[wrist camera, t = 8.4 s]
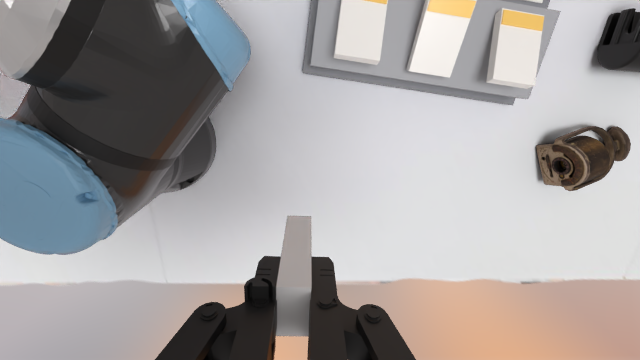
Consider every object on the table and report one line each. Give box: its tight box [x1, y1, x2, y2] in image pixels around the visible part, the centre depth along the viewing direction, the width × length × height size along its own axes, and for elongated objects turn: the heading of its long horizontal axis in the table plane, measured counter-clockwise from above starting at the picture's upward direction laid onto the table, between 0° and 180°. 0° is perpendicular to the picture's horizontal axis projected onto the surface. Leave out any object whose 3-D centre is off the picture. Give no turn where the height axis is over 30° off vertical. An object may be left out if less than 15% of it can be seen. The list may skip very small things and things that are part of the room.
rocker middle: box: [406, 0, 477, 78], centre depth 33 cm, size 5×8×1 cm, turn 172°
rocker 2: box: [486, 8, 544, 89], centre depth 34 cm, size 5×8×1 cm, turn 172°
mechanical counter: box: [536, 126, 631, 191], centre depth 42 cm, size 7×13×10 cm
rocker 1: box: [334, 0, 388, 65], centre depth 33 cm, size 5×8×1 cm, turn 172°
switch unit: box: [303, 0, 560, 105], centre depth 36 cm, size 30×20×5 cm, turn 82°
